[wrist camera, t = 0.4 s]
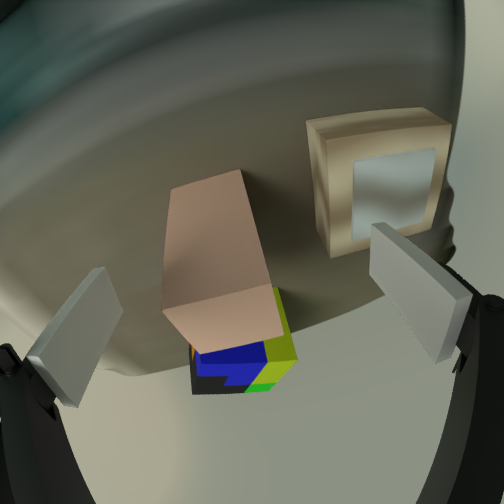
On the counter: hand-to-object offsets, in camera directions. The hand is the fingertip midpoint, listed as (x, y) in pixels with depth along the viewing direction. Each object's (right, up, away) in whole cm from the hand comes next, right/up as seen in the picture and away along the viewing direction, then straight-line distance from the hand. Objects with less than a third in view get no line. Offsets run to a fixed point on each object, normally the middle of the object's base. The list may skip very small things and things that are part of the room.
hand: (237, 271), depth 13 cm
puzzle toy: (-2, -6, +23) cm, 24 cm away
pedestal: (+12, +9, +11) cm, 19 cm away
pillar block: (-3, +5, +12) cm, 13 cm away
